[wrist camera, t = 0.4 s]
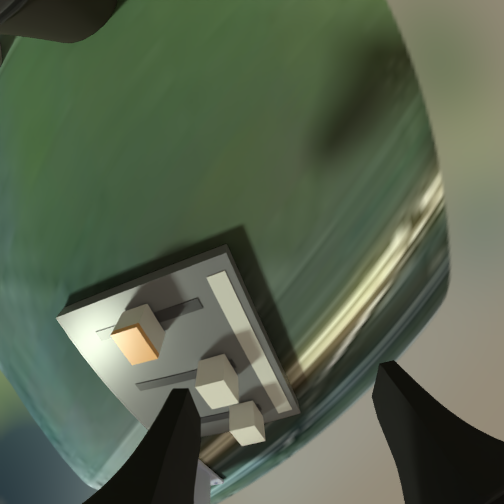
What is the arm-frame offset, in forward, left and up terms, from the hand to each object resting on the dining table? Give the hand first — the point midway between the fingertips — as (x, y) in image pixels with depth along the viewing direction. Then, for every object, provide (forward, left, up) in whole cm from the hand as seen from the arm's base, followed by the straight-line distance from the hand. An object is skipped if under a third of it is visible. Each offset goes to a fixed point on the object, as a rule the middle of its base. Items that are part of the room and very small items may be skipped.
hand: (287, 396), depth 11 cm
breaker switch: (-8, 0, -9) cm, 12 cm away
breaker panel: (-8, -5, -10) cm, 14 cm away
